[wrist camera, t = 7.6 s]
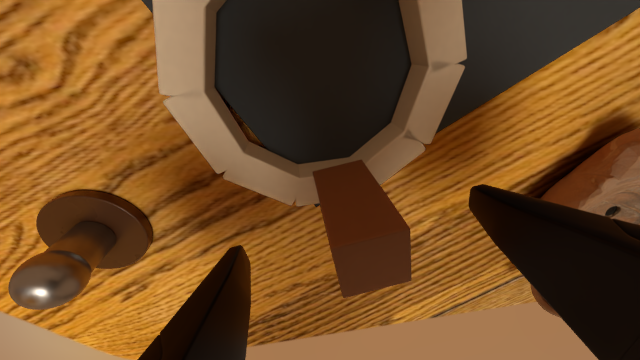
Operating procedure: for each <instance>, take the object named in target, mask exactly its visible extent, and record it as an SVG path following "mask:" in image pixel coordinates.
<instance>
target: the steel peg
mask: <svg viewBox="0 0 640 360" xmlns="http://www.w3.org/2000/svg"><path fill="white" fill-rule="evenodd" d="M37 230H38V232H39V235H40V237H41V238H42V240H43V241H44V242H45V244H46V245H47V246H48V247H49V248H48V249H47V250H46V251H45V252H43V253H40V254H38V255H36V256H34V257H32V258H30V259H28V260H27V261H25V262H24V263H23V264H21V265H20V266H19V267H18V268H17V270H16V271H15V272H14V273H13V275H12V277H11V279H10V282H9V294H10V296H11V298H12V299H13V300H14V301H15V302H16V303H17V304H18V305H20V306H22V307H25V308H28V309H49V308H54V307H57V306H60V305H62V304H65V303H67V302H69V301H70V300H72V299H73V298H75V297H76V296H77V295H79V294H80V293H81V292H82V291H83V290H84V288H85V287H86V286H87V284H88V282H89V280H90V277H91V273H92V271H93V270H94V269H95V268H100V269H113V268H120V267H125V266H128V265H130V264H133V263H135V262H136V261H138V260H139V259H140V258H141V257H143V255H144V254H145V253H146V251H147V250H148V248H149V247H150V245H151V242H152V229H151V226H150V224H149V222H148V220H147V219H146V217H145V216H144V215H143V214H142V213H141V212H140V211H139V210H138V209H137V208H136V207H135V206H133V205H132V204H130V203H129V202H127V201H125V200H123V199H121V198H119V197H116V196H114V195H111V194H107V193H104V192H98V191H89V190H81V191H73V192H68V193H65V194H62V195H60V196H58V197H56V198H55V199H53V200H52V201H50V202H49V203H47V204H46V205H45V206H44V207H43V208H42V209H41V210H40V212H39V214H38V216H37Z"/></svg>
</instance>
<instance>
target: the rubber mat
mask: <svg viewBox="0 0 640 360" xmlns="http://www.w3.org/2000/svg"><path fill="white" fill-rule="evenodd" d="M142 1H143V2H144V4H145V5H146V6H147V7H148V8H149V10H150V11H151V12H152V13H153V3H152V0H142ZM462 8H463V19H464V30H465V41H466V52H467V59H465V60H463V61H461V62H459V63H457V64H461V65H464V66H465V69H464V71H463V73H462V75H461V77H460V80H459V82H458V84H457V86H456V89H455V91H454V93H453V95H452V97H451V100H450V102H449V104H448V106H447V108H446V111H445V113H444V115H443V117H442V120H441V122H440V124H439V126H438V128H437V131H436V133H437V132H439V131H440V130H442V129H443V128H445V127H447V126H448V125H450V124H452V123H453V122H455V121H456V120H458V119H460V118H461V117H463V116H465V115H466V114H468V113H469V112H471V111H473V110H474V109H476V108H478V107H479V106H481V105H482V104H484V103H486V102H487V101H489V100H490V99H492V98H494V97H495V96H497V95H499V94H500V93H502V92H503V91H505V90H507V89H508V88H510V87H512V86H513V85H515V84H516V83H518V82H520V81H521V80H523V79H525V78H526V77H528V76H529V75H531V74H533V73H534V72H536V71H538V70H539V69H541V68H542V67H544V66H546V65H547V64H549V63H550V62H552V61H554V60H555V59H557V58H559V57H560V56H562V55H563V54H565V53H567V52H568V51H570V50H572V49H573V48H575V47H576V46H578V45H580V44H581V43H583V42H585V41H586V40H588V39H589V38H591V37H593V36H594V35H596V34H598V33H599V32H601V31H602V30H604V29H606V28H607V27H609V26H610V25H612V24H614V23H615V22H617V21H619V20H620V19H622V18H623V17H625V16H627V15H628V14H630V13H632V12H633V11H635V10H636V9H638V8H640V0H462ZM411 65H412V64H411V59H410V54H409V49H408V44H407V39H406V34H405V29H404V24H403V19H402V15H401V10H400V5H399V0H226V2H225V3H224V4H223V5H222V6H221V8H220V9H219V10H218V11H217V12H216V45H215V84H214V87H215V88H216V89H217V90H218V91H219V93H220V94H221V95H222V96H223V97H224V98H225V100H226V101H227V102H228V103H229V104H230V106H231V107H232V108H233V109H234V110H235V112H236V113H237V114H238V115H239V116H240V117H241V119H242V120H243V121H244V122H245V123H246V125H247V126H248V127H249V128H250V129H251V131H252V132H253V133H254V134H255V135H256V136H257V138H258V139H259V140H260V141H261V142H262V144H263V145H264V146H265V147H266V148H267V150H268V151H270V152H272V153H275V154H277V155H279V156H281V157H283V158H285V159H287V160H290V161H292V162H294V163H296V164H305V163H312V162H319V161H326V160H333V159H340V158H347V157H350V156H351V155H353V154H354V153H355V152H356V151H357V150H359V149H360V148H361V147H362V146H363V145H365V144H366V143H367V142H368V141H369V140H371V139H372V138H373V137H374V136H375V135H377V134H378V133H379V132H380V131H381V130H383V129H384V128H385V127H386V126H387V125H388V124H390V123H391V121H392V118H393V115H394V112H395V110H396V107H397V104H398V101H399V98H400V96H401V93H402V90H403V87H404V84H405V82H406V79H407V76H408V73H409V71H410V68H411ZM314 205H315V206H316V207H317V206H319V205H320V203H317V204H314Z"/></svg>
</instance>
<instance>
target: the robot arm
mask: <svg viewBox="0 0 640 360" xmlns="http://www.w3.org/2000/svg"><path fill="white" fill-rule="evenodd" d="M469 208H470V210H471V212H472V213H473V214H474V216H475V217H476V218H477V220H478V221H479V223H480V224H481V225H482V227H483V228H484V229H485V231H486V232H487V234H488V235H489V236H490V238H491V239H492V240H493V242H494V243H495V244H496V245H497V246H498V247H499V249H500V250H501V251H502V252H503V253H504V254H505V255H506V256H507V258H508V259H509V260H510V261H511V262H512V263H513V264H514V265H515V267H516V268H517V269H518V270H519V271H520V272H521V273H522V274H523V275H524V277H525V278H526V279H527V280H528V281H529V282H530V283H531V284H532V286H533V287H534V288H535V289H536V290H537V291H538V292H539V293H540V295H541V296H542V297H543V298H544V299H545V300H546V301H547V302H548V303H549V305H550V306H551V307H552V308H553V309H554V310H555V311H556V312H557V314H558V315H559V316H560V317H561V318H562V319H563V320H564V321H565V322H566V323H567V325H568V326H569V327H570V328H571V329H572V330H573V331H574V333H575V334H576V335H577V336H578V337H579V338H580V339H581V340H582V342H584V344H585V345H586V346H587V347H588V348H589V349H590V351H591V352H592V353H593V354H594V355H595V356H596V357H597V358H598V359H599V360H640V225H637V224H633V223H629V222H626V221H622V220H618V219H614V218H613V219H611V218H610V217H606V216H603V215H599V214H595V213H591V212H587V211H583V210H580V209H576V208H572V207H568V206H564V205H561V204H557V203H553V202H549V201H545V200H541V199H538V198H534V197H530V196H526V195H522V194H519V193H515V192H511V191H507V190H503V189H500V188H496V187H492V186H488V185H484V184H481V185H477V186H473V187H472V188H471V190H470V197H469ZM250 307H251V266H250V260H249V258H248V256H247V254H246V252H245V250H244V248H243V247H242V246H241V245H238V246H234V247H231V248H230V249H229V250H228V251H227V252H226V253H225V254H224V256H223V257H222V258H221V259H220V261H219V262H218V263H217V264H216V265H215V267H214V268H213V269H212V270H211V271H210V273H209V274H208V275H207V276H206V278H205V279H204V280H203V281H202V282H201V284H200V285H199V286H198V287H197V289H196V290H195V291H194V292H193V293H192V295H191V296H190V297H189V298H188V299H187V301H186V302H185V303H184V304H183V306H182V307H181V308H180V309H179V310H178V312H177V313H176V314H175V315H174V316H173V318H172V319H171V320H170V321H169V323H168V324H167V325H166V326H165V327H164V329H163V330H162V331H161V332H160V335H158V336H157V337H156V338H155V339H154V341H153V342H152V343H151V344H150V345H149V347H148V348H147V349H146V350H145V351H144V353H143V354H142V355H141V356H140V357H139V358H138V360H245V357H246V347H247V337H248V328H249V318H250Z"/></svg>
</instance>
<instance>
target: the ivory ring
mask: <svg viewBox="0 0 640 360" xmlns="http://www.w3.org/2000/svg"><path fill="white" fill-rule="evenodd" d="M225 2H226V0H152V3H153V16H154V30H155V44H156V57H157V71H158V85H159V93H160V94H162V95H167V96H171V97H169V98H167V99H165V100H164V101H163V103H164V105H165V106H166V107H167V109H168V110H169V111H170V113H171V114H172V115H173V117H174V118H175V119H176V121H177V122H178V123H179V125H180V126H181V127H182V129H183V130H184V131H185V133H186V134H187V135H188V136H189V138H190V139H191V140H192V142H193V143H194V144H195V146H196V147H197V148H198V150H199V151H200V152H201V154H202V155H203V156H204V158H205V159H206V160H207V162H208V163H209V164H210V166H211V167H212V168H213V170H214V171H215V172H216V173H217V174H220V173H222V172H224V171H225V173H224V175H223V179H225V180H227V181H230V182H232V183H235V184H237V185H240V186H242V187H245V188H247V189H250V190H252V191H255V192H257V193H260V194H262V195H265V196H267V197H270V198H273V199H275V200H278V201H280V202H283V203H285V204H288V205H290V206H291V205H292V204H293V202H294V201H296V206H297V207H298V206H304V205H311V204H317V203H320V207H321V211H322V215H323V219H324V224H325V228H326V232H327V236H328V240H329V245H330V249H331V253H332V257H333V261H334V264H335V268H336V272H337V276H338V280H339V284H340V288H341V292H342V296H343V298H346V297H350V296H354V295H358V294H362V293H366V292H369V291H373V290H377V289H381V288H385V287H389V286H393V285H397V284H400V283H404V282H408V281H411V245H410V228H409V226H408V225H407V224H406V222H405V221H404V219H403V218H402V216H401V215H400V213H399V212H398V211H397V209H396V208H395V206H394V205H393V203H392V202H391V201H390V199H389V198H388V196H387V195H386V193H385V192H384V191H383V189H382V188H381V186H380V185H381V184H382V183H384V182H385V181H386V180H388V179H389V178H390V177H392V176H393V175H394V174H395V173H397V172H398V171H399V170H401V169H402V168H403V167H404V166H406V165H407V164H408V163H410V162H411V161H412V160H414V159H415V158H416V157H417V156H419V155H420V154H421V153H423V152H424V151H425V150H426V149H425V147H424V145H423V144H431V142H432V139H433V137H434V135H435V133H436V131H437V128H438V126H439V124H440V122H441V120H442V117H443V115H444V113H445V111H446V108H447V106H448V104H449V102H450V100H451V97H452V95H453V93H454V91H455V89H456V86H457V84H458V82H459V80H460V77H461V75H462V73H463V71H464V69H465V66H464V65H461V64H457V63H459V62H461V61H463V60H465V59H467V52H466V41H465V30H464V19H463V8H462V0H399V5H400V10H401V15H402V19H403V24H404V29H405V34H406V39H407V44H408V49H409V54H410V59H411V64H412V65H411V68H410V71H409V73H408V76H407V79H406V82H405V84H404V87H403V90H402V93H401V96H400V98H399V101H398V104H397V107H396V110H395V112H394V115H393V118H392V121H391V123H390V124H388V125H387V126H386V127H385V128H384V129H383V130H381V131H380V132H379V133H378V134H377V135H375V136H374V137H373V138H372V139H371V140H369V141H368V142H367V143H366V144H365V145H363V146H362V147H361V148H360V149H359V150H357V151H356V152H355V153H354V154H353V155H351V156H350V157H347V158H340V159H333V160H326V161H319V162H312V163H305V164H296V163H294V162H292V161H290V160H287V159H285V158H283V157H281V156H279V155H277V154H275V153H272V152H270V151H268V150H266V149H264V148H262V147H260V146H258V145H255V144H253V143H251V142H249V141H248V140H247V138H246V137H245V135H244V133H243V132H242V130H241V129H240V127H239V125H238V124H237V122H236V121H235V119H234V117H233V116H232V114H231V113H230V111H229V109H228V108H227V106H226V105H225V103H224V101H223V100H222V98H221V97H220V95H219V93H218V92H217V90H216V89H215V87H214V84H215V45H216V12H217V11H218V10H219V9H220V8H221V6H222V5H223V4H224V3H225ZM422 143H423V144H422Z"/></svg>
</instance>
